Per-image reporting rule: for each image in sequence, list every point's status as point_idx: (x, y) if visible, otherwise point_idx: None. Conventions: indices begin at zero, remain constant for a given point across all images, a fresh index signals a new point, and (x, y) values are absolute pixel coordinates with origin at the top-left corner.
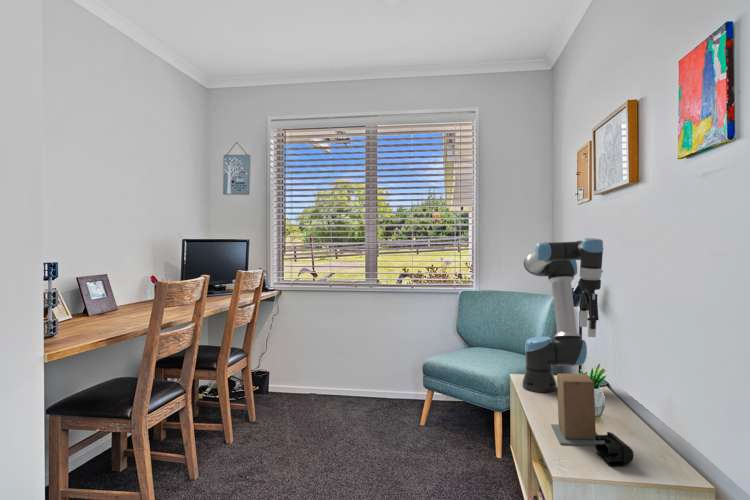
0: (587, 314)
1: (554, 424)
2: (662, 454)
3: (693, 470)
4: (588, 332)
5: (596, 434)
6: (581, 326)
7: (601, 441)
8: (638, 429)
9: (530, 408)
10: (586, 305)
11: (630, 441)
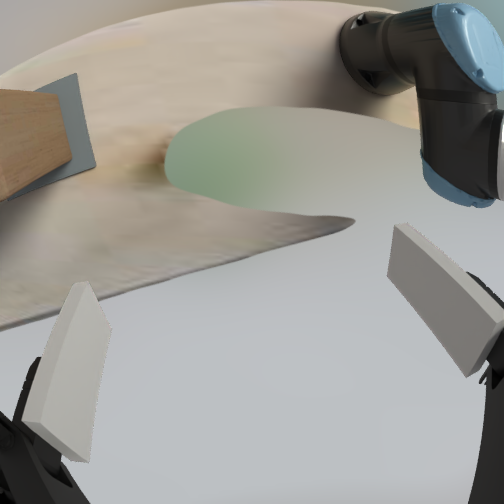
0: (450, 353)
1: (76, 80)
2: (30, 291)
3: (6, 320)
4: (61, 312)
5: (49, 180)
6: (394, 238)
7: (19, 193)
8: (127, 262)
9: (197, 10)
10: (491, 441)
11: (55, 245)
